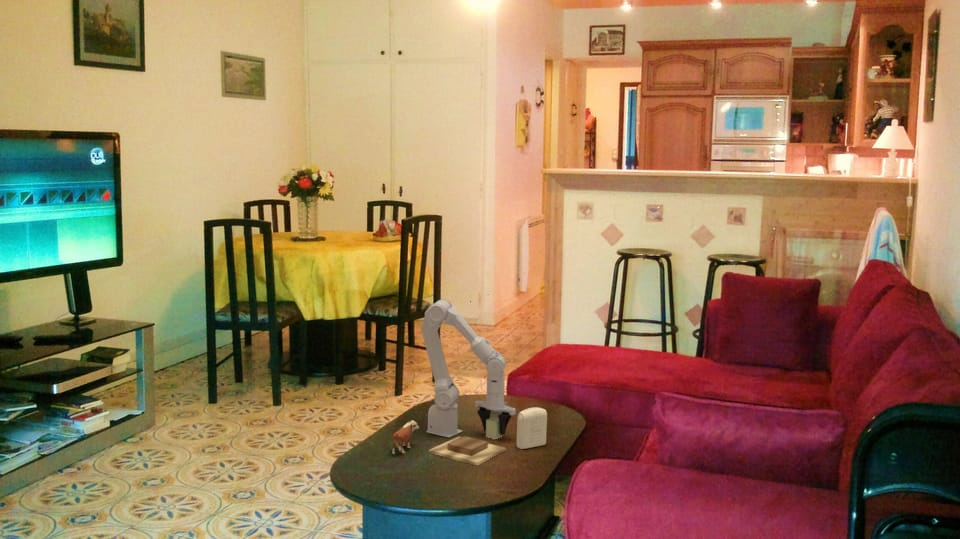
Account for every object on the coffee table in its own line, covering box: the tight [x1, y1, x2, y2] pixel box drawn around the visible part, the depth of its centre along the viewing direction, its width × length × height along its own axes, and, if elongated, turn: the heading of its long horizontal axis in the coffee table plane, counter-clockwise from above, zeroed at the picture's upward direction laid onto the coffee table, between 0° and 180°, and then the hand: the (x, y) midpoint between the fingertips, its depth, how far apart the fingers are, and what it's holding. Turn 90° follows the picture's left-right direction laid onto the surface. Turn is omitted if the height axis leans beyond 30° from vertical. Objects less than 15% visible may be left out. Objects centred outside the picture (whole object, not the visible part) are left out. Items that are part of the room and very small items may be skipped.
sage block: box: [485, 417, 504, 440], centre depth 283 cm, size 4×4×6 cm
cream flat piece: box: [428, 435, 507, 466], centre depth 269 cm, size 18×16×3 cm
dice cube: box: [490, 401, 510, 418], centre depth 306 cm, size 5×5×5 cm
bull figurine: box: [391, 419, 420, 455], centre depth 269 cm, size 4×13×8 cm, turn 155°
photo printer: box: [515, 407, 548, 450], centre depth 275 cm, size 10×4×12 cm, turn 123°
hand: (494, 432), depth 283 cm, fingers open, 6 cm apart
